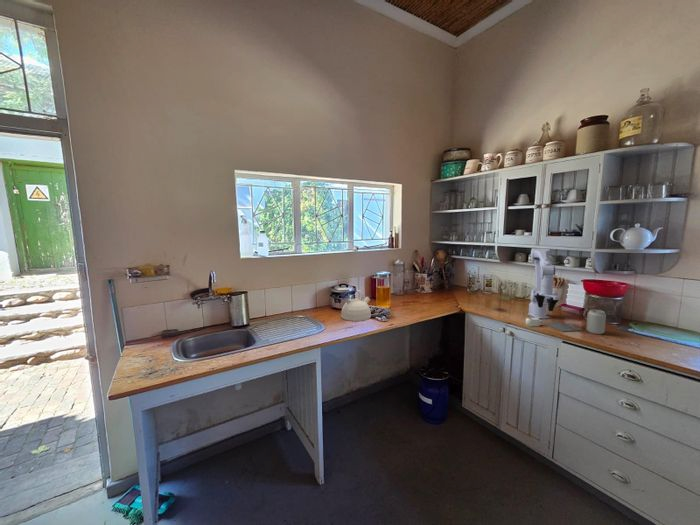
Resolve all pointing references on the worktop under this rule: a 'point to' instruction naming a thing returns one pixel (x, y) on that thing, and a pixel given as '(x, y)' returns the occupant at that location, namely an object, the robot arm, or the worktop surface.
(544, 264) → the robot arm
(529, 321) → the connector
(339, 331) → the worktop surface
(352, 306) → the kettle
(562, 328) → the mat
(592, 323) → the can
